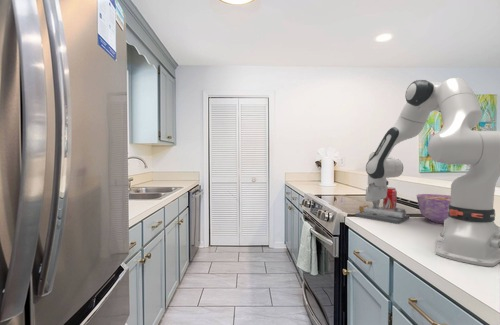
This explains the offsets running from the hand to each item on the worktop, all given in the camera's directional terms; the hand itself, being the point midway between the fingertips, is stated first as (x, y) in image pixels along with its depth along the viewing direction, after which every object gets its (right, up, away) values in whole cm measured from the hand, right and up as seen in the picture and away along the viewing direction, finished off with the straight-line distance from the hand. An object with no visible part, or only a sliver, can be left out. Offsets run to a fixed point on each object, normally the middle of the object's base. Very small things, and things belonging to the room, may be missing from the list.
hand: (376, 208), depth 149 cm
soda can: (+14, -3, +14) cm, 20 cm away
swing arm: (-1, -1, -10) cm, 10 cm away
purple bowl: (+23, -4, -17) cm, 28 cm away
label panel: (-1, -3, -10) cm, 10 cm away
